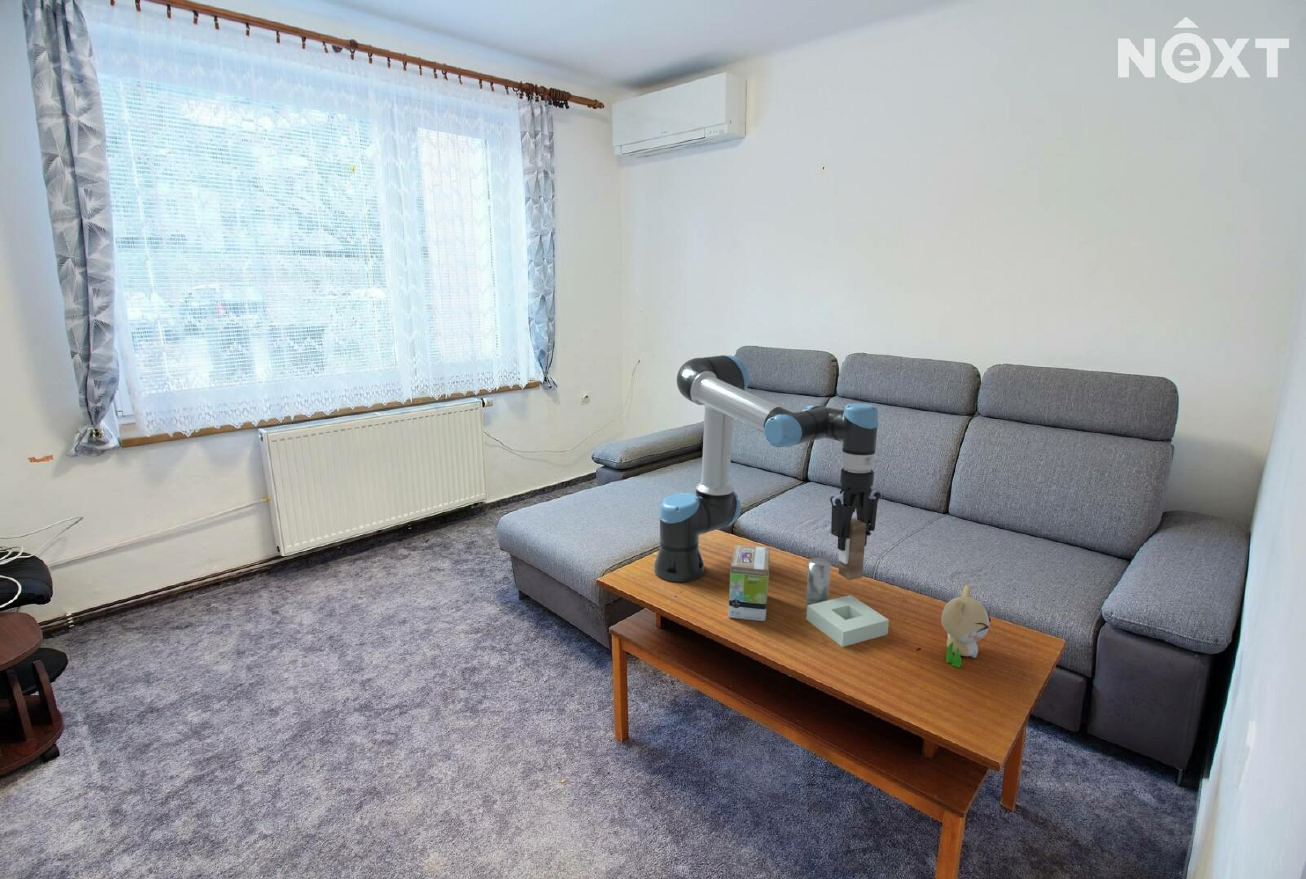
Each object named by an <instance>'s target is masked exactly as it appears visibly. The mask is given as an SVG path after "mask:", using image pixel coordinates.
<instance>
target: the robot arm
mask: <svg viewBox="0 0 1306 879" xmlns="http://www.w3.org/2000/svg"><path fill="white" fill-rule="evenodd" d="M749 376H750V375H749V371H748V367H747V366H746V364H744V362H743V361H742V360H741V358H739V357H738V356H735V355H722V354H721V355H715V356H713V355H712V356H706V357H695V358H692V359H689V360H686V362H684V364H682V366H680V368H679V370H678V372H677V375H676V385H677V388H678V389H677V390H679V391H678V392H680V394H681V395H682V396H683V397H684V398H685V399H686V400H688V401H689V402H692V403H694V404H696V405H699V406H704V418H703V439H702V442H703V443H702V462H701V480H700V481H699V482H698V483H697V484H696V486H695V494H694V493H690V492H681V493H680V492H678V493H674V494H673V493H672V494H671V495H669V496H666V497H664V499H663V500H662V501H661V503H660V505H659V514H658V516H659V549H658V553H657V554H656V557H655V558H656V559H655V561H654V565H653V567H654V574H655V575H656V576H657V577H658V578H660V579H662V580H666V581H669V582H678V583H681V582H684V583H685V582H691V581H694V580H697V579H700V578H701V577H702V576H703V575H704V572H705V564H704V561H703V557H702V553H701V551H700V549H699V548H700V546H699V537H700V535H704V534H707V533H711V532H713V531H717V530H719V529H720V530H723V529H725V528H727V527H729V526H731V525H733V524H734V523H736V522H737V520H738V519H739V517H740V513H741V501H740V499H739V496H738V494H737V493H736V492H735V491H734V490H735V488H734V487H733V485H732V484H731V483H730V477H731V476H730V475H731V461H732V460H731V459H732V457H731V456H732V443H733V426H734V420H736V421H737V422H738V421H739V422H740V423H742V424H744V425H747V426H748V427H750V428H753V429H755V430H756V431H758V432H761V433H762V434H763V435H764V436H765V439H766V441H767V442H768V443H769V444H770V446H772V447H773V448H790V447H793V446H795V445H800V444H801V445H802V444H804V443H805V444H806V443H810V442H813V441H818V440H822V439H829V440H831V441H832V440H834V441H838V442H842V448H841V459H840V460H841V461H840V466H841V469H840V477H839V478H840V481H839V482H840V485H841V489H840V491H839V494H838V495H836V496H833V495H832V496H830V498H829V500H830V504H831V522H830V523H831V524H830V526H831V527H830V533H831V535H833V536H835V537H837V546H836V547H837V550H838V561H841V562H843V563H845V564H848V559H849V545H850V538H848V537H847V536H848V532H849V528H850V524H851V519H853V515H854V513H855V512H856V519H857V520H859V521H862V522H864V523H866V534H865V547H867V540H868V536H869V537H870V536H871V534H872V532H874V531H875V530H876V519H877V513H878V502H879V500H880V497H881V492H879V491H877V490H874V489H872V487H873V485H874V477H875V472H874V471H873V470H874V469H875V463H876V461H875V460H876V446H877V436H878V435H877V434H878V428H879V409H878V407H877V406H876V405H873V404H870V403H861V402H852V403H849V404H846V405H845V406H844V409H838V408H832V407H827V406H824V405H820V404H819V405H814V404H813V405H812V404H811V405H810V404H809V405H807V406H806V407H805V408H804V409H803V410H802V411H796V412H794V411H791V410H789V409H788V410H787V409H785V408H783V407H781V406H779V405H777V404H774V403H773V402H771V401H768V400H766V399H763V398H761V397H760V396H756V395H755V394H752V393H750V392H748V391H746V390H747V388H748V387H749V382H750V381H749V380H750V377H749ZM865 547H864V549H865Z"/></svg>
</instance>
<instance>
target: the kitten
mask: <svg viewBox="0 0 1306 879" xmlns="http://www.w3.org/2000/svg"><path fill="white" fill-rule="evenodd" d="M970 593H971V587H970V585H969V584H966V585H965V586H964V587H963V589H962V591H961V594H960V596H956V597H954V598H951V599H950V600H949V601H948V602H947V603H946V605H945V606H944V608H943V609H942V611H941V613H942V614H941V617H940V619H941V625H942V627H943V629H944V631H945V632H946V633H947V640H946V647H947V650H946V657H945V658H946V660H945V661H946V663H950V664H951V665H950V666H951V667H957V668H960V667H961V666H962V658H961V656H962V657H972V658H973V659H975V658H977V657H978V653H979V647H978V643H977V642H978V641H980V640H982V639H984V638H985V637H986V635H987V634H988V631H989V629H990V623H991V622H992V620H991V617H990V615H989V613H988V611H987V609H986V608H985V606H984V605H983V604H982V603H981V602H980V601H979V600H977V599H975V598H973V597H970ZM953 654H954V655H953Z"/></svg>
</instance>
